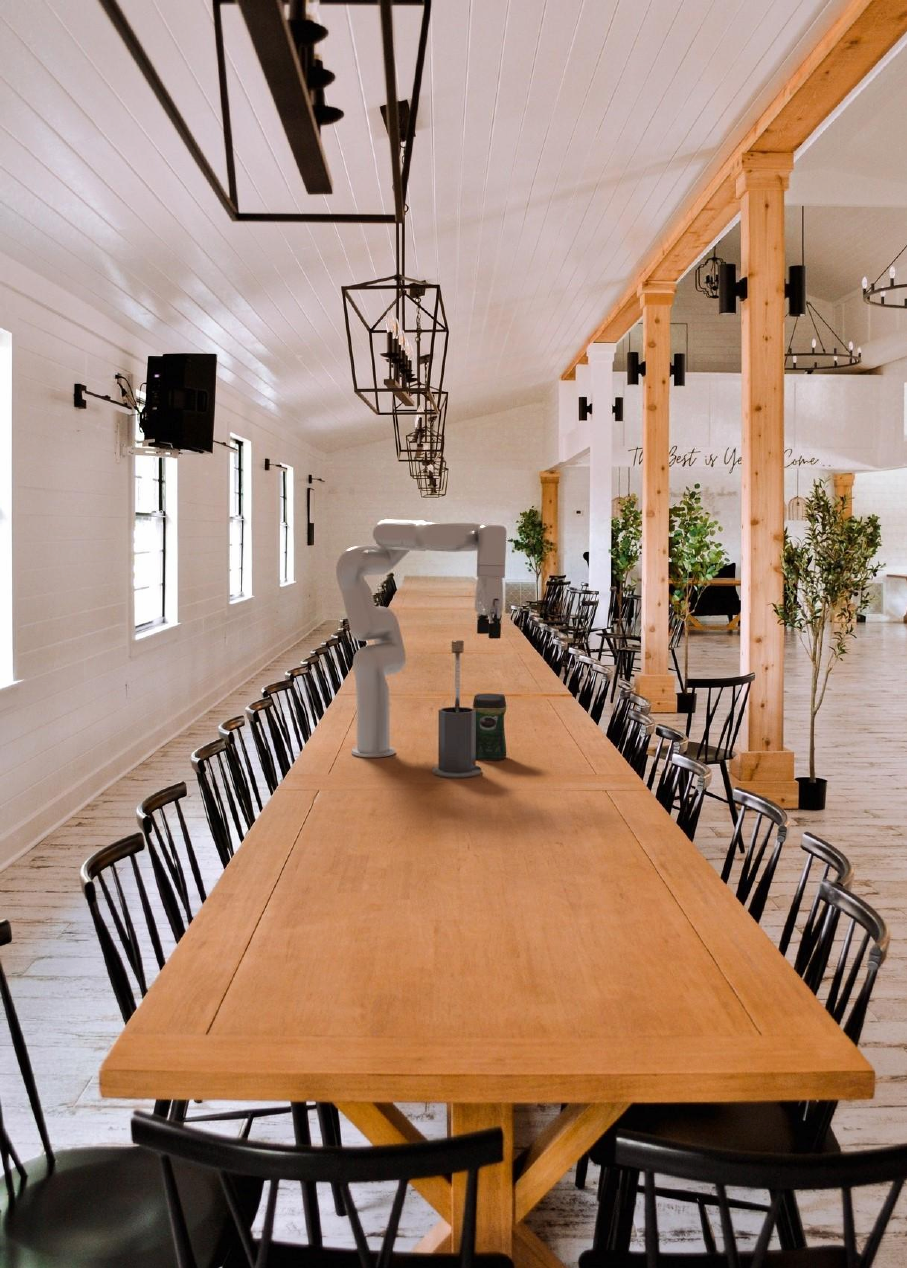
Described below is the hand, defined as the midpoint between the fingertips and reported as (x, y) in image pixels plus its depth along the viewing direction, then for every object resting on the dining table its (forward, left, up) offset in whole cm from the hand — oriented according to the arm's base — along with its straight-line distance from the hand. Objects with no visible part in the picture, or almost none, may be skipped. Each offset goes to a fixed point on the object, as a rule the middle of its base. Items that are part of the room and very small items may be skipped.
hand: (488, 635), depth 277 cm
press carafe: (-1, -8, -37) cm, 38 cm away
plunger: (-1, -8, -23) cm, 25 cm away
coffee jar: (-13, +8, -37) cm, 40 cm away
